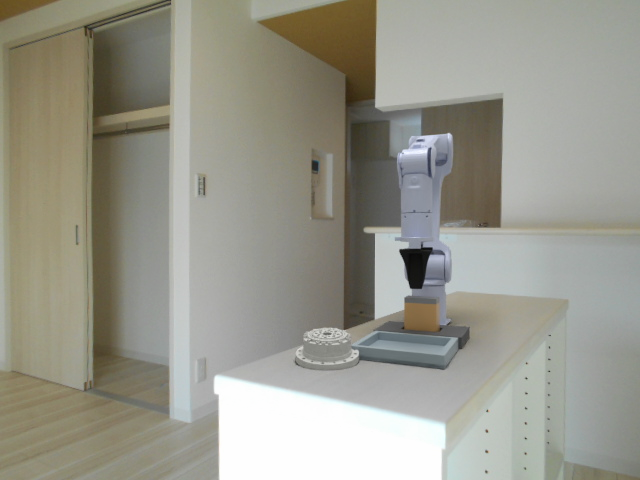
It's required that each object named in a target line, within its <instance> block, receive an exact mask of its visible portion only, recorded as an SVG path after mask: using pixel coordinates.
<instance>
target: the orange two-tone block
mask: <svg viewBox="0 0 640 480" xmlns="http://www.w3.org/2000/svg"><path fill="white" fill-rule="evenodd" d="M403 298H404V304H403V305H404V306H403V307H404V311H403V312H404V313H403V315H404V318H403V319H404V320H403V322H404V327H405V329H407V330H420V331H432V332H440V303H439V297H428V296H412V295H406V296H404V297H403Z"/></svg>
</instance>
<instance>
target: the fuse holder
mask: <svg viewBox="0 0 640 480" xmlns="http://www.w3.org/2000/svg"><path fill="white" fill-rule="evenodd" d="M372 330H373V331H372V332H374V331H386V332H397V333H409V334H421V335H432V336H444V337H456V338H458V350H459V349H460V350H463V348H464V346H466V343H467V342H468V340H469V338H470V336H471V335H470V326H462V325H461V326H460V325H450V324H449V325H448V324H447V325H440V332H432V331H420V330H407V329H405V327H404V321H397V320H396V321H395V320H388V321H387V322H385V323H383V324H381V325H380V326H378V327H376V328H375V329H372Z"/></svg>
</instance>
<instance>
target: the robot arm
mask: <svg viewBox="0 0 640 480" xmlns="http://www.w3.org/2000/svg"><path fill="white" fill-rule="evenodd" d="M453 137H454V136H453V134H451V132H447V133H441V134H430V135H419V136H417V135H412V136H410V138H409V139H408V148H406V149H404V148H403V149H402V150H401V152H398V154H397V159H396V170H397V175H398V188H399V189H400V228H401V229H400V231H401V232H400V233H401V234H400V236H395V237H394V241H396V242H397V241H398V242H401V243H402V242H404V243H405V242H406V243H408V247H407V248H399V249H398V250H399V251H398V252H399V254H400V257H401V258H402V260H403V263H404V265H403V266H404V277H405V280H406V281H407V283H408V287H409V289H410V290H411V296H428V297H439V303H440V325H448V324H449V323H450V322H451V318H447V291H446V284H447V283H448V284H449V283H450V282H451V281H452V277H453V276H452V275H453V274H452V273H453V266H452V265H453V263H452V250H451V249H450V247H449V246H448V245H447V244H445V243H444V242H442V240H440V227H441V206H442V205H441V203H442V201H441V199H442V187H443V182H444V178H445V177H446V176H448V175H450V174H451V173H452V168H453V165H454V164H453V162H454V161H453V160H454V158H453V157H454V138H453Z"/></svg>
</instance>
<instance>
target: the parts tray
mask: <svg viewBox="0 0 640 480" xmlns="http://www.w3.org/2000/svg"><path fill="white" fill-rule="evenodd" d="M351 348H352V349H355V350H358V351H359V360H361V361H362V360H363V361H370V362H379V363H387V364H397V365H405V366H413V367H421V368H432V369H440V370H445V369H446V368H447V366H448V365H449V363H450V362H451V361H452V360H453V358H454V356H455V355H456V354H457V352H458V351H459V349H458V338H456V337H444V336H432V335H421V334H409V333H397V332H386V331H374V332H373V331H372V332H370V333H369V334H366V335H365V336H363V337H362V338H360V339H358V340H357V341H355V342H353V343H351Z"/></svg>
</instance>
